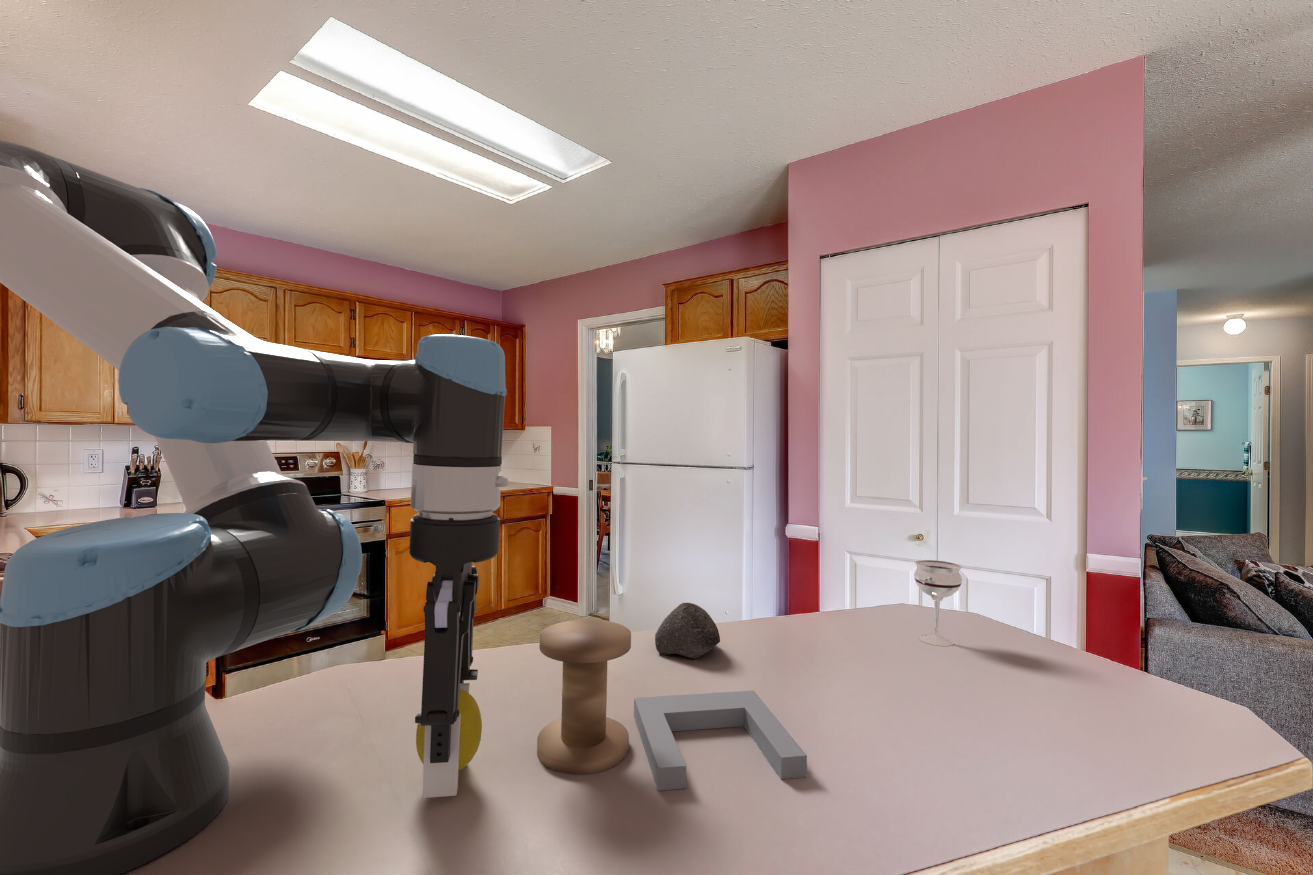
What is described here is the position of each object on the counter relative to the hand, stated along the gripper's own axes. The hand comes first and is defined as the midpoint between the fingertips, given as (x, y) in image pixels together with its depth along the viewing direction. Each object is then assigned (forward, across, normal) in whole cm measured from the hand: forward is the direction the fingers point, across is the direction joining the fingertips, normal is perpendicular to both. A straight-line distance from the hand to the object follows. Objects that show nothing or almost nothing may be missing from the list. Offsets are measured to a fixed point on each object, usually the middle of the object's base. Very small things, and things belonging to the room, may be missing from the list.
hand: (446, 772), depth 52 cm
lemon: (+1, 0, 0) cm, 1 cm away
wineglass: (0, +28, -69) cm, 75 cm away
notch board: (0, +3, -25) cm, 26 cm away
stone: (+1, +29, -30) cm, 41 cm away
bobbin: (+1, +4, -12) cm, 13 cm away
